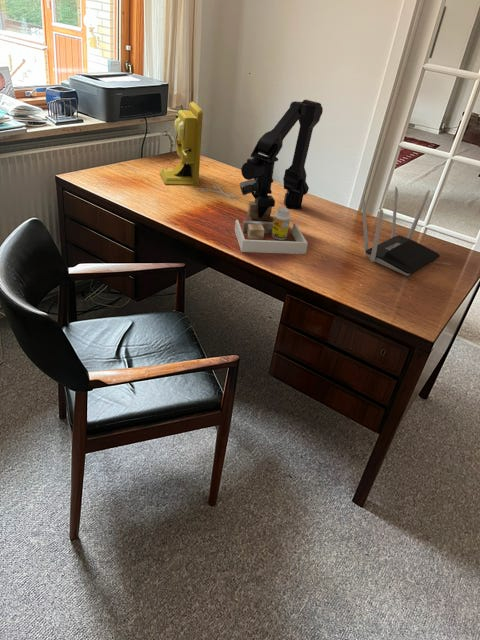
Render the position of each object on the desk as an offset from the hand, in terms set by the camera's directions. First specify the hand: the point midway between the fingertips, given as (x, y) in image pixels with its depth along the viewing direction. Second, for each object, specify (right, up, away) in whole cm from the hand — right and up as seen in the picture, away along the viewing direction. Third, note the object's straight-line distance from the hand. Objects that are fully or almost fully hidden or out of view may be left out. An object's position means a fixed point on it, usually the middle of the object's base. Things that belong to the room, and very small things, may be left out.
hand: (258, 215), depth 179 cm
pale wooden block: (-2, -10, -13) cm, 17 cm away
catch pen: (+3, -12, -16) cm, 20 cm away
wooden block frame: (+1, -4, -4) cm, 6 cm away
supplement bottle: (+7, -10, -12) cm, 17 cm away
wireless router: (+46, -17, -15) cm, 51 cm away
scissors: (-14, +13, +19) cm, 27 cm away
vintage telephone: (-34, +22, +28) cm, 50 cm away
